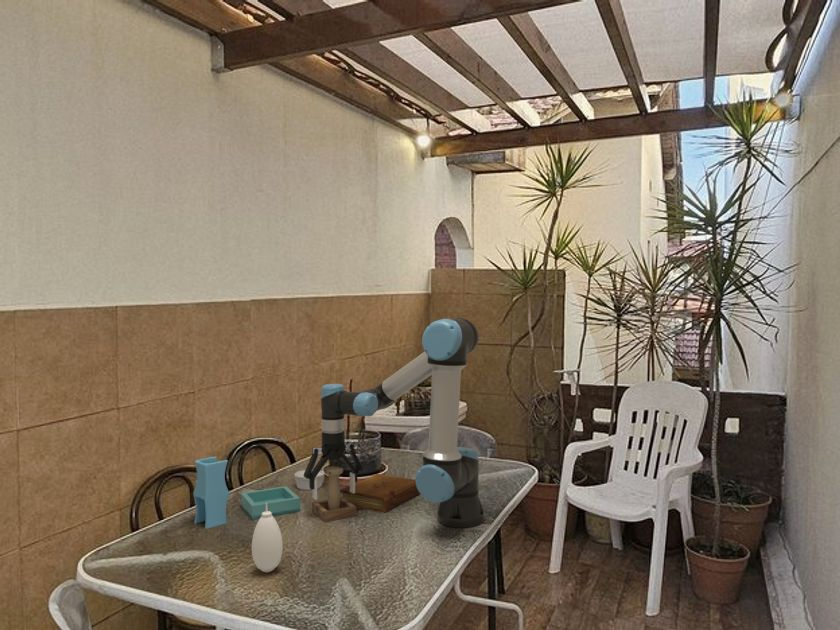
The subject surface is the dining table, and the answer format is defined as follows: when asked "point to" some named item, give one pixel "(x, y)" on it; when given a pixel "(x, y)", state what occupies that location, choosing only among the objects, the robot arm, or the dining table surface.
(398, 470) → the dining table surface
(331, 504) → the handle
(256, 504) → the parts tray
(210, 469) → the blue tall hollow block
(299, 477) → the ramekin
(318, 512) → the socket
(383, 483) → the diary
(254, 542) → the white air blower bulb
